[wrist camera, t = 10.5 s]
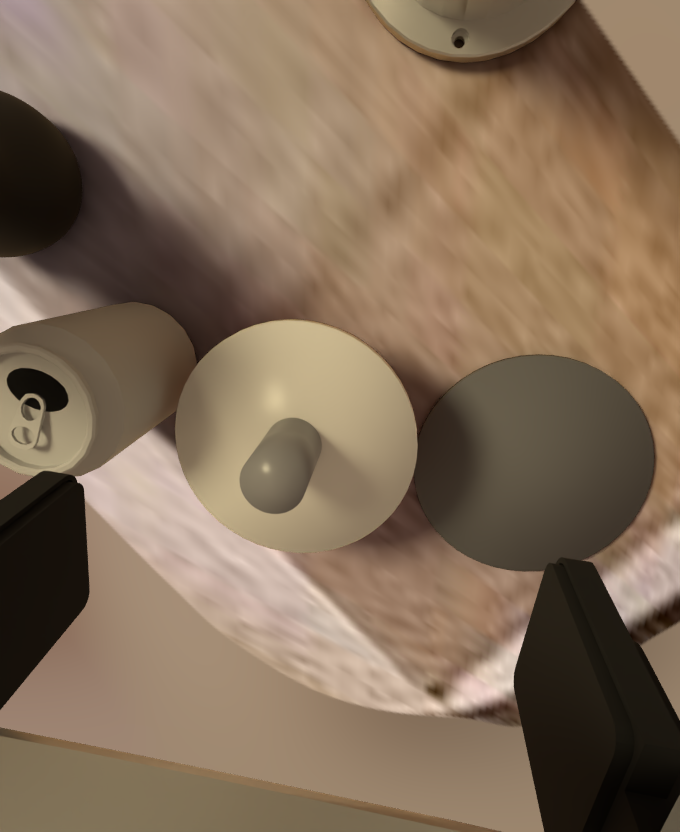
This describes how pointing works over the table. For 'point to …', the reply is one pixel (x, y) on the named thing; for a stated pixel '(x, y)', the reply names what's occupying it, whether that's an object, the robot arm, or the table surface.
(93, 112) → the table surface
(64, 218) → the cola bottle
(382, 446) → the lid
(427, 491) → the mat
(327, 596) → the table surface
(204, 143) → the table surface
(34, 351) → the can
